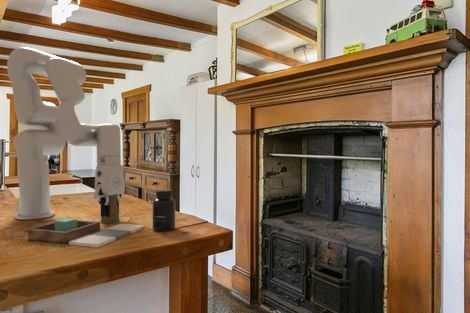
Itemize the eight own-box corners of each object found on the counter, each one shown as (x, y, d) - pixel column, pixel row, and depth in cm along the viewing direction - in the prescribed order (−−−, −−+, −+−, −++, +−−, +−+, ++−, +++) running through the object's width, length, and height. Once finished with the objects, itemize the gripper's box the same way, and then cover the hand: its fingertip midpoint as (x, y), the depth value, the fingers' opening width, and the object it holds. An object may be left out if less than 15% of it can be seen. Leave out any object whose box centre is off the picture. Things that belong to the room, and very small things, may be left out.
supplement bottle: (155, 233, 99) (155, 192, 99) (150, 228, 106) (149, 189, 105) (178, 230, 103) (178, 190, 102) (171, 225, 109) (171, 188, 108)
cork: (113, 223, 112) (112, 190, 111) (96, 223, 113) (96, 190, 112) (123, 219, 118) (122, 188, 117) (107, 219, 119) (106, 187, 118)
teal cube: (55, 234, 96) (54, 220, 96) (66, 231, 100) (66, 218, 100) (65, 236, 95) (65, 221, 95) (77, 232, 99) (76, 219, 98)
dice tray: (28, 240, 93) (28, 229, 93) (65, 228, 105) (65, 219, 105) (65, 244, 89) (65, 232, 89) (100, 231, 101) (100, 221, 101)
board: (69, 244, 89) (68, 241, 89) (120, 226, 109) (120, 223, 108) (97, 247, 86) (97, 244, 86) (144, 228, 106) (144, 225, 106)
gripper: (101, 162, 105) (102, 221, 106) (133, 160, 121) (134, 211, 122) (81, 162, 108) (82, 219, 108) (115, 159, 124) (116, 210, 124)
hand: (110, 214), depth 115 cm, fingers closed on cork, 4 cm apart
